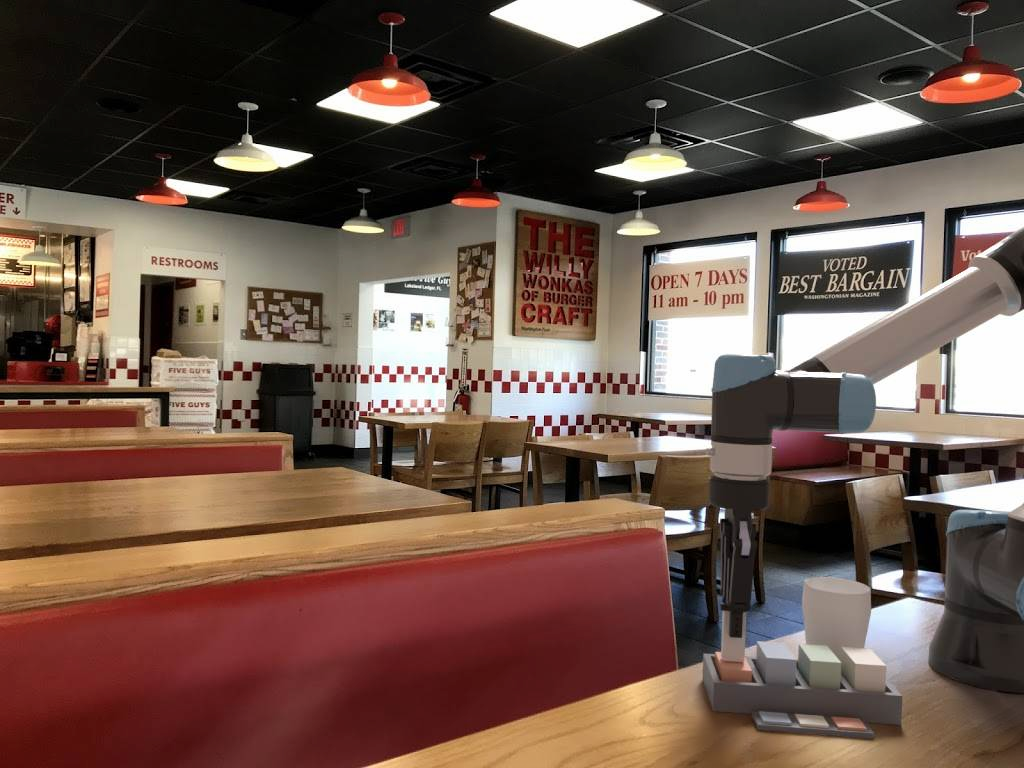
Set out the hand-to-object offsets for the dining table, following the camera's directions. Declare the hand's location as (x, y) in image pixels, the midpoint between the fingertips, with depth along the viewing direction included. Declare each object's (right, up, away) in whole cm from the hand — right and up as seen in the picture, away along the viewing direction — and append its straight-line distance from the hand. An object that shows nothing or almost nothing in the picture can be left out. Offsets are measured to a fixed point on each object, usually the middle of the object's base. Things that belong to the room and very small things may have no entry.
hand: (732, 659), depth 102 cm
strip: (+7, -5, -8) cm, 12 cm away
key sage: (+11, -2, -1) cm, 11 cm away
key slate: (+5, -2, 0) cm, 6 cm away
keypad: (+8, -5, -1) cm, 9 cm away
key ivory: (+16, -3, -2) cm, 16 cm away
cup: (+17, -5, +10) cm, 21 cm away
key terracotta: (0, -4, 0) cm, 4 cm away
